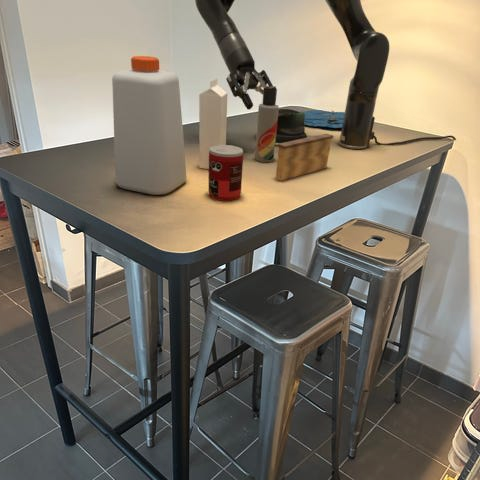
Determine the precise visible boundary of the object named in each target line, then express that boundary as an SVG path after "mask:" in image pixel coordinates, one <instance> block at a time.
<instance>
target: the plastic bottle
mask: <svg viewBox="0 0 480 480" xmlns="http://www.w3.org/2000/svg"><path fill="white" fill-rule="evenodd" d="M130 64H131V65H130V67H131V68H129V69H124V70H120V71H117V72H115V73H114V74H113V75H112V79H111V81H112V84H111V86H112V112H113V113H112V114H113V117H112V118H113V143H114V145H113V146H114V148H113V149H114V173H115V175H114V176H115V177H114V178H115V183H116V185H117V186H118V187H119V188H121V189H123V190H127V191H133V192H136V193H141V194H142V193H143V194H147V195H153V196H163V195H168V194H170V193H171V192H173V191H174V190H176V189H177V188H178V187H181V186H182V185H183V184H184V183H185V182H186V181H187V178H188V177H187V164H186V154H185V141H184V139H185V138H184V129H183V126H184V125H183V116H182V115H183V114H182V103H181V91H180V79H179V76H178V75H177V74H176V73H175V72H172V71H167V70H161V69H160V59H159V58H158V57H155V56H151V55H150V56H149V55H134V56H132V57H131V58H130Z"/></svg>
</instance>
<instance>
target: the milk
mask: <svg viewBox="0 0 480 480" xmlns="http://www.w3.org/2000/svg"><path fill="white" fill-rule="evenodd" d="M198 99H199V101H198V103H199V104H198V105H199V107H198V108H199V110H198V114H199V115H198V116H199V117H198V119H199V121H198V125H199V126H198V131H199V132H198V133H199V135H198V136H199V137H198V148H199V149H198V168H199V169H206V170H209V148H210V147H212V146H216V145H227V124H228V123H227V121H228V119H227V118H228V117H227V116H228V92H227V91H225V90H224V89H223V88H222V87H221V86H220V85H218V78H215V79H212V80H211V81H210V83H209V88H208V89H206V90H204V91H203V92H201V93H199V97H198Z"/></svg>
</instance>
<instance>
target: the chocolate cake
mask: <svg viewBox="0 0 480 480" xmlns="http://www.w3.org/2000/svg"><path fill="white" fill-rule="evenodd" d="M304 120H305V114H304V113H302V112H301V111H298V110H295V109H291V108H279V110H278V120H277V131H276V141H275V146H277V144H279V143H284V142H289V141H294V140H298V139H303V138H308V137H309V136H308V135H307V134H306V130H305V129H306V126H305V124H304Z"/></svg>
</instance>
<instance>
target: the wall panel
mask: <svg viewBox="0 0 480 480" xmlns="http://www.w3.org/2000/svg"><path fill="white" fill-rule="evenodd" d="M307 137H308V138H303V139H298V140H294V141H289V142H284V143H279V144H277V145H276V147H277V148H278V151H277V161H276V169H275V170H276V172H275V180H278V181H280V182H282V181H285V180H290V179H293V178H296V177H299V176H303V175H306V174H310V173H314V172H317V171H321V170H324V169H327V167H328V163H329V162H328V161H329V154H330V149H331V143H332V139H334V135H332V134H329V133H323V134H318V135H317V134H316V135H313V136H307Z"/></svg>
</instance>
